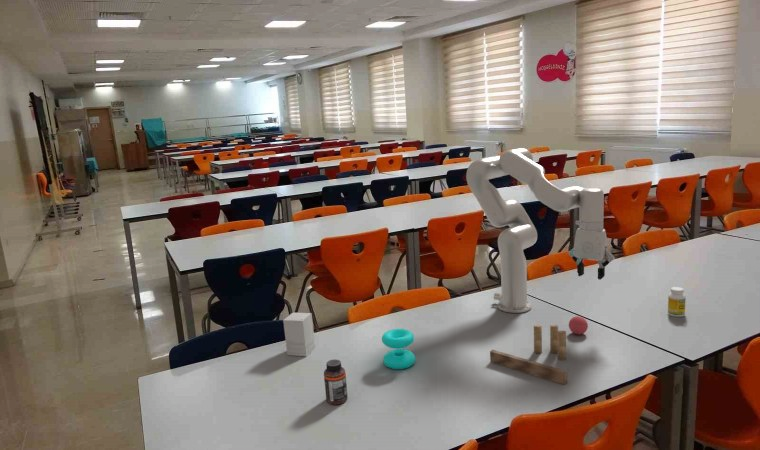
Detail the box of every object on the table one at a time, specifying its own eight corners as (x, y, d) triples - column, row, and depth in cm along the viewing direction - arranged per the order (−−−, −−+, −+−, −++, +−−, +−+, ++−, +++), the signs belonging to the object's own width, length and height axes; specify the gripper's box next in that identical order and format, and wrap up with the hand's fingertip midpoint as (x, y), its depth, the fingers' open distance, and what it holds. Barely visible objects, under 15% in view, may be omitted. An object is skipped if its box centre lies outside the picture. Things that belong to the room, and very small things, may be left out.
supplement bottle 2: (672, 310, 198) (673, 285, 196) (687, 314, 193) (689, 288, 191) (664, 314, 195) (665, 288, 193) (679, 318, 190) (680, 292, 188)
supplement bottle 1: (326, 395, 154) (322, 358, 152) (347, 393, 155) (344, 356, 152) (326, 406, 148) (322, 368, 146) (348, 404, 149) (344, 365, 146)
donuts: (403, 324, 175) (419, 334, 167) (405, 353, 177) (421, 365, 169) (375, 332, 171) (391, 343, 162) (378, 361, 173) (393, 374, 164)
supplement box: (316, 347, 187) (312, 312, 184) (306, 357, 180) (302, 321, 177) (296, 346, 189) (293, 311, 187) (286, 355, 182) (282, 319, 180)
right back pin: (556, 358, 167) (556, 332, 165) (560, 355, 168) (560, 329, 167) (563, 360, 165) (563, 334, 163) (567, 357, 167) (567, 331, 165)
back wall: (490, 361, 168) (490, 351, 167) (493, 360, 169) (492, 349, 168) (564, 384, 151) (564, 373, 150) (567, 382, 152) (567, 371, 151)
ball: (565, 334, 183) (565, 317, 182) (573, 328, 188) (573, 312, 186) (583, 338, 179) (583, 321, 178) (590, 332, 184) (590, 316, 182)
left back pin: (532, 352, 172) (532, 326, 171) (536, 349, 174) (536, 324, 172) (539, 353, 171) (539, 328, 169) (543, 351, 172) (543, 325, 171)
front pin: (548, 351, 172) (548, 326, 170) (552, 349, 173) (552, 323, 172) (556, 353, 170) (556, 328, 168) (559, 351, 172) (559, 325, 170)
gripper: (561, 225, 186) (561, 275, 190) (612, 230, 174) (611, 284, 178) (571, 221, 192) (571, 270, 195) (621, 225, 180) (620, 278, 183)
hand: (590, 276), depth 187 cm, fingers open, 6 cm apart
